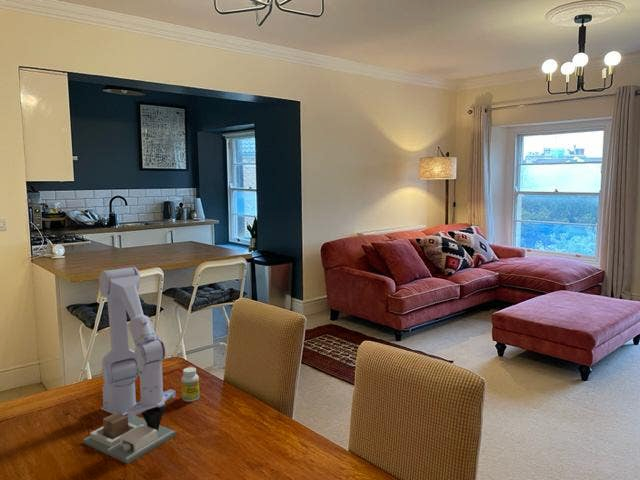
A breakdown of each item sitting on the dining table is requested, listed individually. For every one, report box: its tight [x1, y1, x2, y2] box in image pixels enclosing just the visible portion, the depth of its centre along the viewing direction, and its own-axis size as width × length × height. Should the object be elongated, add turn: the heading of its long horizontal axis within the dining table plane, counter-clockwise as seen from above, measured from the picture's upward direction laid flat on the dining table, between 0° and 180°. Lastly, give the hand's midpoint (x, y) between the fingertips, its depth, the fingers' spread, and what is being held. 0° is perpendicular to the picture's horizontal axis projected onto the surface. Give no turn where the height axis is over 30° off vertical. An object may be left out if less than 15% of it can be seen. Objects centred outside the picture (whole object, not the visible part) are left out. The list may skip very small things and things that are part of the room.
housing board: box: [82, 415, 177, 465], centre depth 136 cm, size 18×16×2 cm
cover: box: [120, 424, 158, 452], centre depth 132 cm, size 6×7×3 cm
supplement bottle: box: [180, 367, 200, 403], centre depth 160 cm, size 5×5×10 cm
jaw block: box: [102, 412, 129, 440], centre depth 136 cm, size 4×4×6 cm
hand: (153, 432), depth 136 cm, fingers closed
